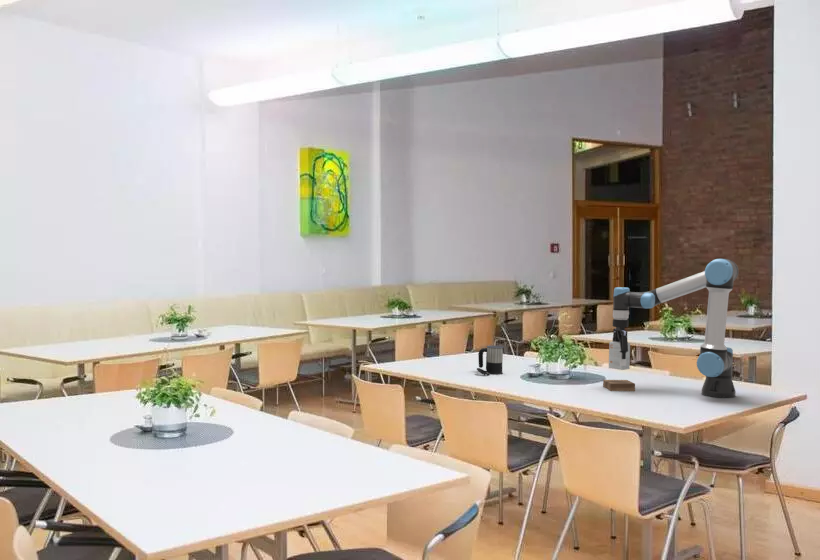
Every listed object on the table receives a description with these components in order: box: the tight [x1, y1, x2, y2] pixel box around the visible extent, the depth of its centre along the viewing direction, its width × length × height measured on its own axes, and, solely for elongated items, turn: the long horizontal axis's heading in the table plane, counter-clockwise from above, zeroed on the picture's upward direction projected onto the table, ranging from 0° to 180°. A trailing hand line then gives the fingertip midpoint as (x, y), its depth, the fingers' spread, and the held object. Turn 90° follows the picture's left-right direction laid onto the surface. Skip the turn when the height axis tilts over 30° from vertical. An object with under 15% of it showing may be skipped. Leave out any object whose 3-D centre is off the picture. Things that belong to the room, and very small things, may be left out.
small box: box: [608, 341, 631, 371], centre depth 402 cm, size 8×6×13 cm
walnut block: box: [602, 379, 636, 392], centre depth 402 cm, size 12×12×4 cm
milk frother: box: [476, 345, 504, 376], centre depth 445 cm, size 14×16×15 cm
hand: (619, 364), depth 402 cm, fingers closed on small box, 10 cm apart
